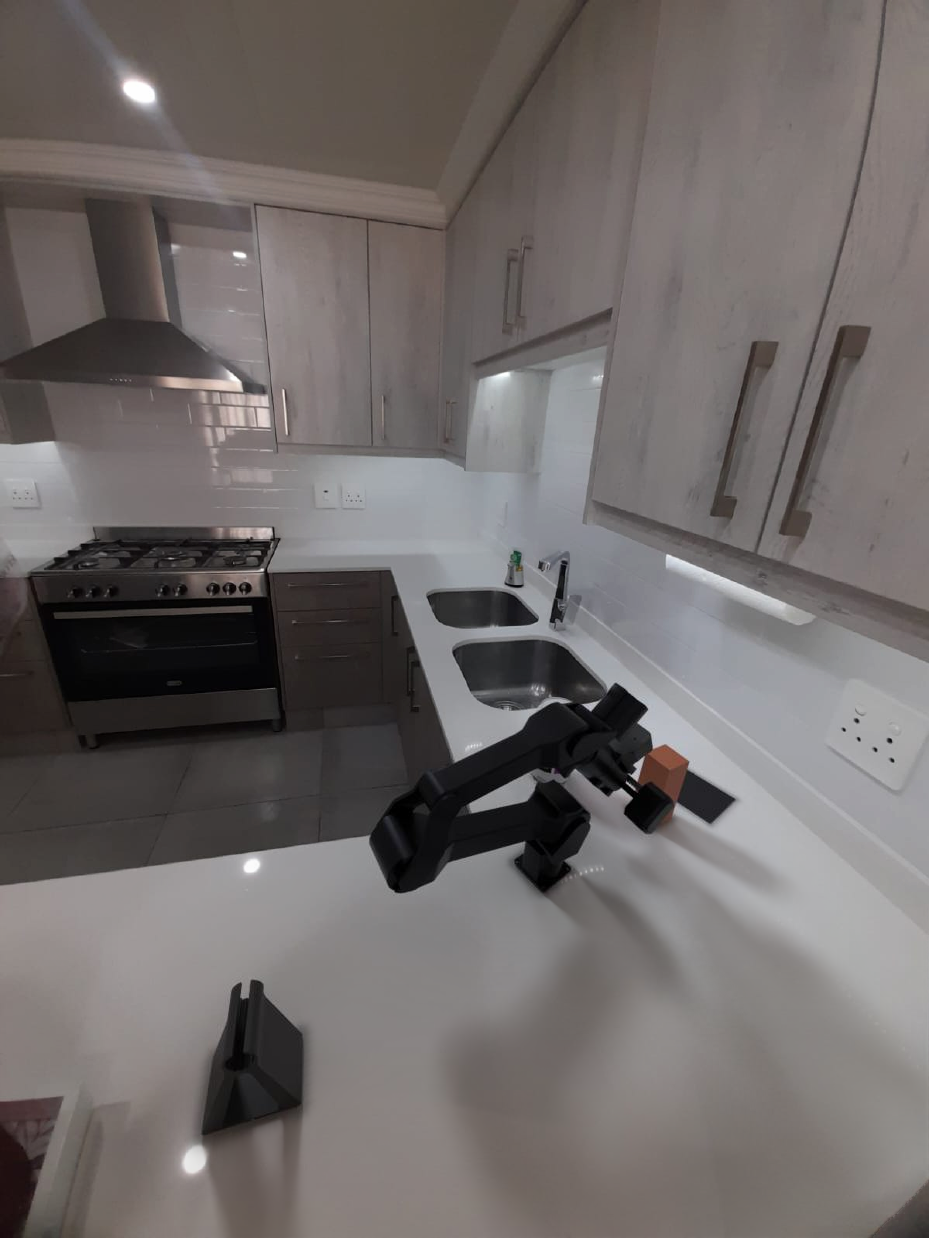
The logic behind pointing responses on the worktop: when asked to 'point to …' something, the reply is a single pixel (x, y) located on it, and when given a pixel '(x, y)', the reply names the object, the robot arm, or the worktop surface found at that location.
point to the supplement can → (549, 773)
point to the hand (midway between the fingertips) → (631, 792)
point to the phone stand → (253, 1063)
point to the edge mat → (703, 797)
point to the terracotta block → (664, 772)
